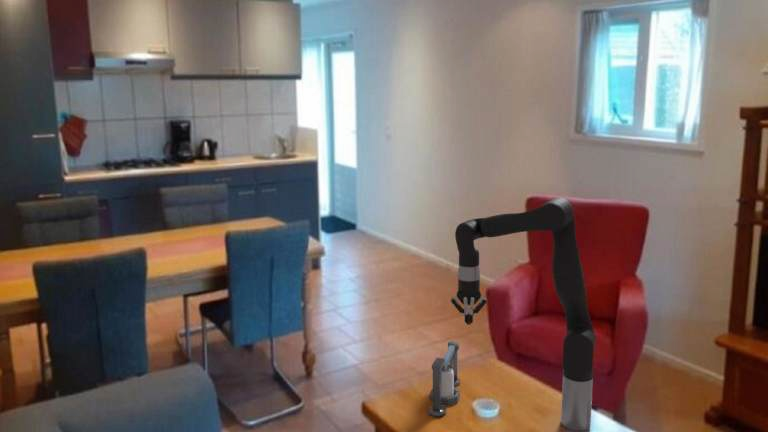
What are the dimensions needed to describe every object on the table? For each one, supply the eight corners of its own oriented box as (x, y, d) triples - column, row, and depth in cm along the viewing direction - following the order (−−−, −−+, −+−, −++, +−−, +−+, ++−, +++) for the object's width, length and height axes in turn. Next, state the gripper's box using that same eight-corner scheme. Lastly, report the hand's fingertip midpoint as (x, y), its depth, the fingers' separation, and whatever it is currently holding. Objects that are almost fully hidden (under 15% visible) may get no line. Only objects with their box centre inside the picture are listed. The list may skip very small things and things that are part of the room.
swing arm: (449, 345, 234) (449, 340, 233) (459, 346, 232) (459, 341, 232) (436, 370, 214) (436, 364, 214) (447, 371, 213) (447, 366, 213)
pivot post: (461, 381, 236) (461, 347, 233) (458, 387, 231) (458, 353, 228) (448, 379, 237) (448, 346, 234) (445, 385, 233) (445, 351, 230)
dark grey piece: (449, 407, 217) (449, 359, 213) (443, 418, 210) (443, 369, 206) (432, 404, 219) (432, 356, 215) (426, 415, 212) (425, 366, 208)
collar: (462, 393, 226) (462, 387, 225) (455, 407, 217) (455, 400, 216) (435, 389, 229) (435, 383, 229) (427, 402, 220) (427, 396, 220)
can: (452, 403, 219) (453, 372, 217) (434, 402, 221) (434, 371, 218) (454, 394, 226) (454, 364, 223) (436, 393, 227) (436, 362, 224)
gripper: (487, 273, 220) (486, 320, 223) (449, 273, 221) (449, 319, 225) (488, 280, 212) (488, 328, 216) (449, 280, 214) (449, 327, 218)
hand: (468, 323), depth 221 cm, fingers closed
